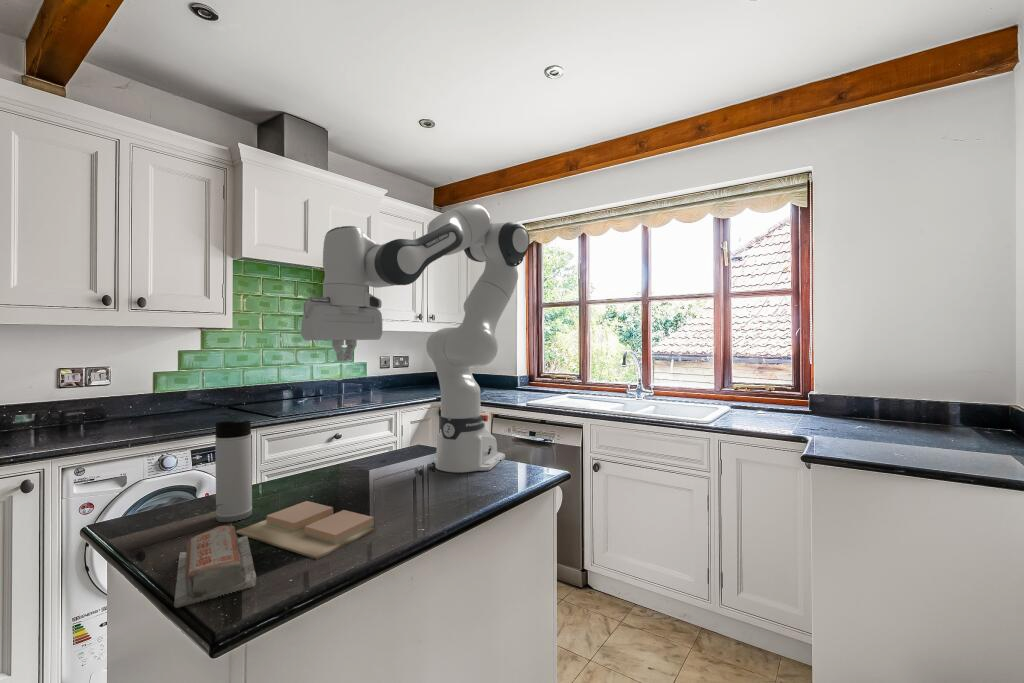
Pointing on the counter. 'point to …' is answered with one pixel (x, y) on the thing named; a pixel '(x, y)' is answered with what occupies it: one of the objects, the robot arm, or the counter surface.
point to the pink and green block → (339, 526)
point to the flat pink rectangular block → (299, 515)
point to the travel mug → (233, 470)
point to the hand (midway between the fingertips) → (344, 360)
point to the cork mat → (295, 539)
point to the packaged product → (214, 566)
